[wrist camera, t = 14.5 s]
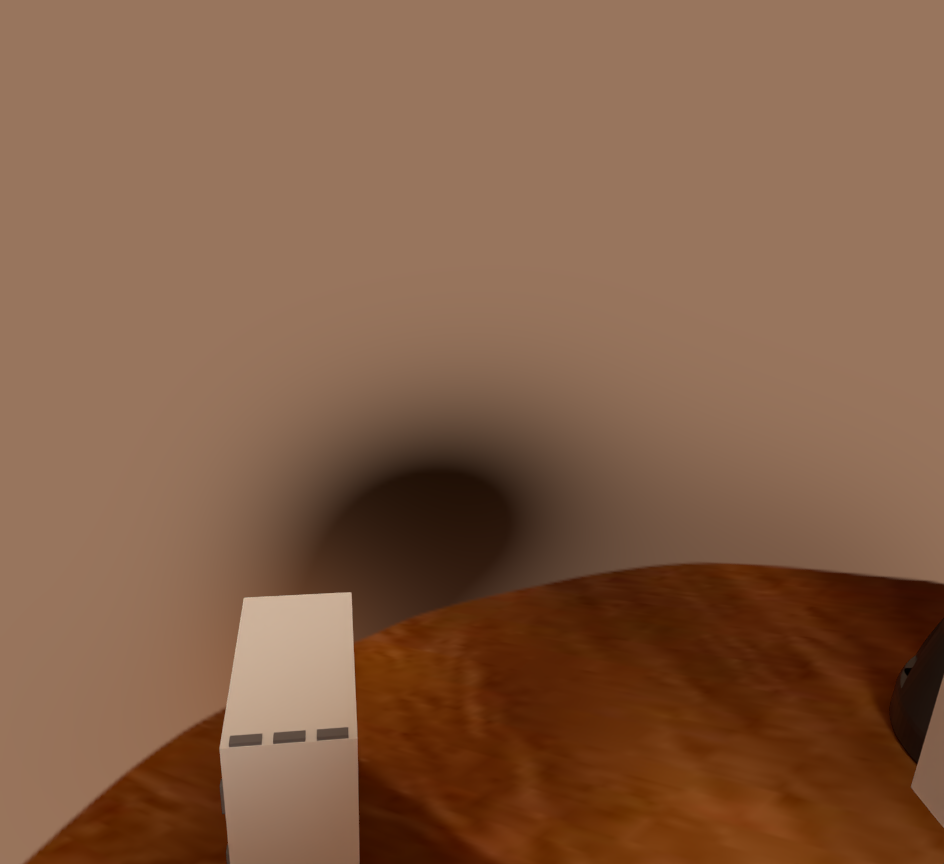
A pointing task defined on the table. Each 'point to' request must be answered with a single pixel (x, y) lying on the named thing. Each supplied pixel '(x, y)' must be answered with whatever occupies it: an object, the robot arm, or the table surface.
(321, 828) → the white slotted block
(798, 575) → the table surface
